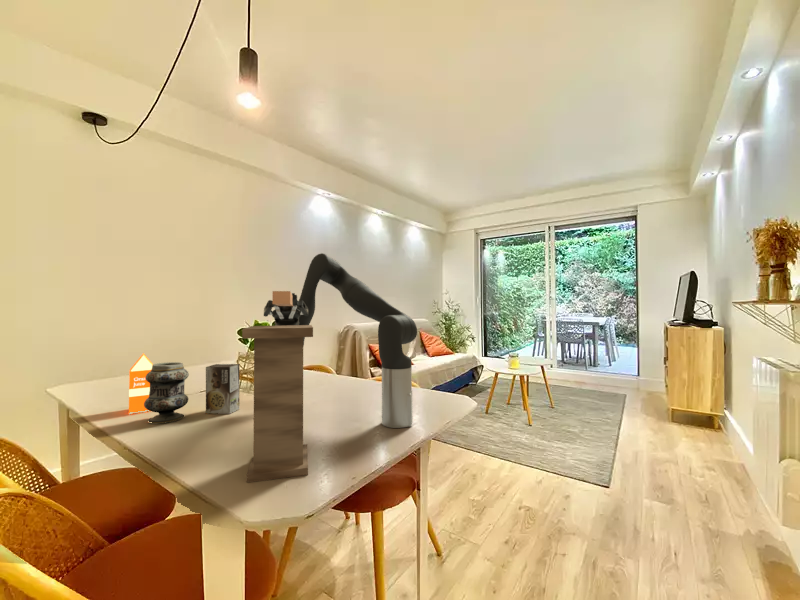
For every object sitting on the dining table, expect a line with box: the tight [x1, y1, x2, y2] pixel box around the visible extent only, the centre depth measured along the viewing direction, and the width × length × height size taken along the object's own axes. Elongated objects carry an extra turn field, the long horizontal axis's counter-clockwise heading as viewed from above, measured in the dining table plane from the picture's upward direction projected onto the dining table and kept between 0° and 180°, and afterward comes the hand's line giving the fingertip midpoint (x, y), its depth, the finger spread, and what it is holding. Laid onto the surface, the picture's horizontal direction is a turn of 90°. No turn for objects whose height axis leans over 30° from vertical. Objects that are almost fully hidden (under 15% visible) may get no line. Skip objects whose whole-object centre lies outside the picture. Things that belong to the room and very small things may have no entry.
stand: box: [241, 324, 314, 483], centre depth 82 cm, size 16×14×31 cm
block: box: [272, 290, 293, 306], centre depth 97 cm, size 26×4×3 cm, turn 15°
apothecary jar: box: [144, 361, 190, 424], centre depth 116 cm, size 12×12×18 cm
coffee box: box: [205, 363, 240, 415], centre depth 124 cm, size 9×6×16 cm
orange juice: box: [128, 352, 154, 414], centre depth 127 cm, size 8×9×20 cm
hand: (285, 295), depth 104 cm, fingers closed on block, 4 cm apart
